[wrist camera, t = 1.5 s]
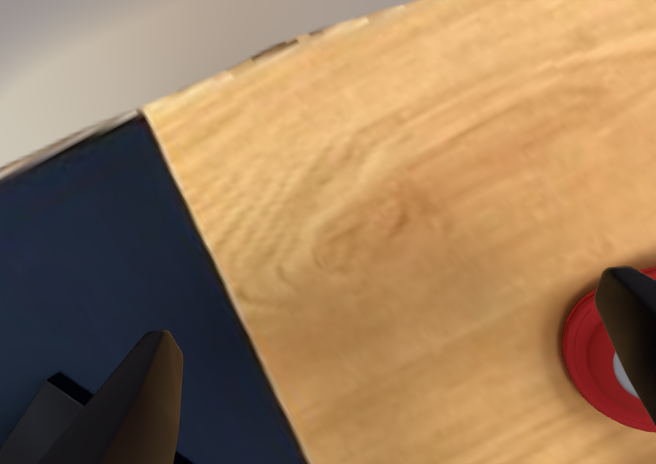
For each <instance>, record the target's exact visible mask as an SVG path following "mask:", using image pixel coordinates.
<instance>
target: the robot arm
mask: <svg viewBox="0 0 656 464" xmlns="http://www.w3.org/2000/svg"><path fill="white" fill-rule="evenodd" d="M594 301H595V305H596V308H597V310H598V312H599V315H600V317H601V319H602V322H603V324H604V326H605V328H606V331H607V333H608V335H609V338H610V340H611V342H612V344H613V347H614V349H615V351H616V354H617V356H618V358H619V361H620V363H621V365H622V367H623V369H624V371H625V373H626V375H627V377H628V379H629V381H630V383H631V385H632V386H633V388H634V390H635V392H636V393H637V395H638V397H639V399H640V400H641V402H642V404H643V405H644V407H645V409H646V411H647V412H648V414H649V416H650V418H651V419H652V421H653V423H654V425H655V426H656V280H654V279H653V278H651V277H649V276H647V275H645V274H644V273H642V272H640V271H638V270H636V269H635V268H633V267H630V266H626V265H624V266H616V267H609V268H606V269H605V270H604V271H603V273H602V276H601V279H600V281H599V284H598V286H597V289H596V292H595V295H594ZM182 371H183V356H182V353H181V350H180V349H179V347H178V345H177V344H176V342H175V340H174V339H173V337H172V335H171V334H170V332H169V331H167V330H157V331H151V332H148V333H146V334H145V335H144V336H143V337H142V338H141V339H140V341H139V342H138V343H137V344H136V345H135V347H134V348H133V349H132V350H131V351H130V353H129V354H128V355H127V356H126V357H125V359H124V360H123V361H122V362H121V363H120V365H119V366H118V367H117V368H116V369H115V371H114V372H113V373H112V374H111V375H110V377H109V378H108V379H107V380H106V381H105V383H104V384H103V385H102V386H101V387H100V389H99V390H98V391H97V392H96V393H95V395H94V396H93V397H92V398H91V399H90V401H89V402H88V403H87V404H86V405H85V407H84V408H83V409H82V410H81V411H80V413H79V414H78V415H77V416H76V417H75V419H74V420H73V421H72V422H71V423H70V425H69V426H68V427H67V428H66V429H65V431H64V432H63V433H62V434H61V435H60V437H59V438H58V439H57V440H56V441H55V443H54V444H53V445H52V446H51V447H50V449H49V450H48V451H47V452H46V453H45V455H44V456H43V457H42V458H41V459H40V461H39V462H38V463H37V464H173V462H174V456H175V450H176V445H177V438H178V431H179V419H180V403H181V387H182Z"/></svg>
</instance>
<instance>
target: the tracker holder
mask: <svg viewBox="0 0 656 464" xmlns="http://www.w3.org/2000/svg"><path fill="white" fill-rule="evenodd" d="M640 272H642V273H644V274H645V275H647V276H649V277H651V278H653V279H654V280H656V267H653V268H648V269H643V270H640ZM595 292H596V289H595V290H593V291H592V292H590V293H589V294H587V295H586V296H584V297H583V298H582V299H581V300H580V301H579V302H578V303H577V304H576V305H575V307H574V308H573V310H572V311H571V313H570V315H569V316H568V318H567V321H566V324H565V327H564V331H563V336H562V349H563V356H564V360H565V363H566V366H567V369H568V371H569V374H570V376H571V378H572V381H573V382H574V384H575V386H576V388H577V389H578V390H579V392H580V393H581V394H582V396H583V397H584V398H585V399H586V400H587V401H588V402H589V403H590V404H591V405H592V406H594V407H595V408H596V409H597V410H598V411H600V412H601V413H603V414H604V415H606V416H607V417H609V418H611V419H613V420H615V421H617V422H619V423H621V424H623V425H626V426H629V427H632V428H635V429H639V430H643V431H647V432H656V426H655V425H654V423H653V421H652V419H651V418H650V416H649V414H648V412H647V411H646V409H645V407H644V405H643V404H642V402H641V400H640V399H639V397H638V395H637V393H636V392H635V390H634V388H633V386H632V385H631V383H630V381H629V379H628V377H627V375H626V373H625V371H624V369H623V367H622V365H621V363H620V361H619V358H618V356H617V354H616V351H615V349H614V347H613V344H612V342H611V340H610V338H609V335H608V333H607V331H606V328H605V326H604V324H603V322H602V319H601V317H600V315H599V312H598V310H597V308H596V305H595V301H594V295H595Z"/></svg>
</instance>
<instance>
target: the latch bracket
mask: <svg viewBox="0 0 656 464" xmlns="http://www.w3.org/2000/svg"><path fill="white" fill-rule="evenodd" d="M93 396H94V395H92V394H91V393H89V392H88V391H86V390H85V389H83V388H82V387H80V386H79V385H77V384H76V383H75V382H73V381H72V380H70V379H69V378H67V377H66V376H64V375H63V374H61V373H60V372H59V373H57V374H56V375H54V376H52V377H51V378H49V379H47V380H46V381H45V382H44V384H43V385H42V387H41V388H40V390H39V391H38V393H37V394H36V396H35V397H34V399H33V400H32V402H31V403H30V405H29V407H28V408H27V410H26V411H25V413H24V414H23V416H22V417H21V419H20V420H19V422H18V423H17V425H16V426H15V428H14V429H13V431H12V432H11V434H10V435H9V437H8V438H7V440H6V441H5V443H4V444H3V446H2V448H1V449H0V464H37V463H38V462H39V461H40V459H41V458H42V457H43V456H44V455H45V453H46V452H47V451H48V450H49V449H50V447H51V446H52V445H53V444H54V443H55V441H56V440H57V439H58V438H59V437H60V435H61V434H62V433H63V432H64V431H65V429H66V428H67V427H68V426H69V425H70V423H71V422H72V421H73V420H74V419H75V417H76V416H77V415H78V414H79V413H80V411H81V410H82V409H83V408H84V407H85V405H86V404H87V403H88V402H89V401H90V399H91V398H92V397H93ZM173 464H193V463H192V462H190V461H189V460H187V459H186V458H184V457H183V456H181V455H180V454H178V453H177V452H175V456H174V462H173Z"/></svg>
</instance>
